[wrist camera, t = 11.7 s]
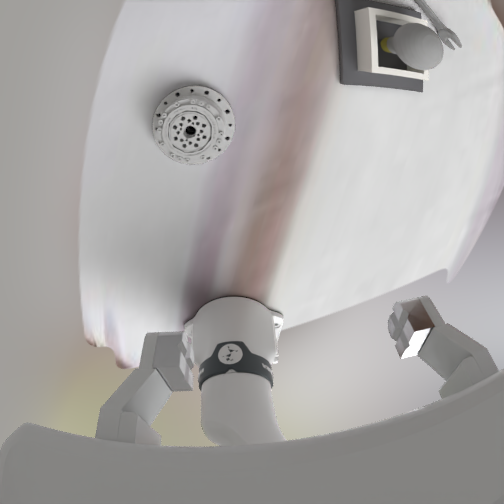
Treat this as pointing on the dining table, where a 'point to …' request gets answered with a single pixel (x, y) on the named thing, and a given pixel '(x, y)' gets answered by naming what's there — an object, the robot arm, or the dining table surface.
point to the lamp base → (374, 45)
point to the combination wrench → (439, 26)
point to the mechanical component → (202, 142)
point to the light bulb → (415, 46)
